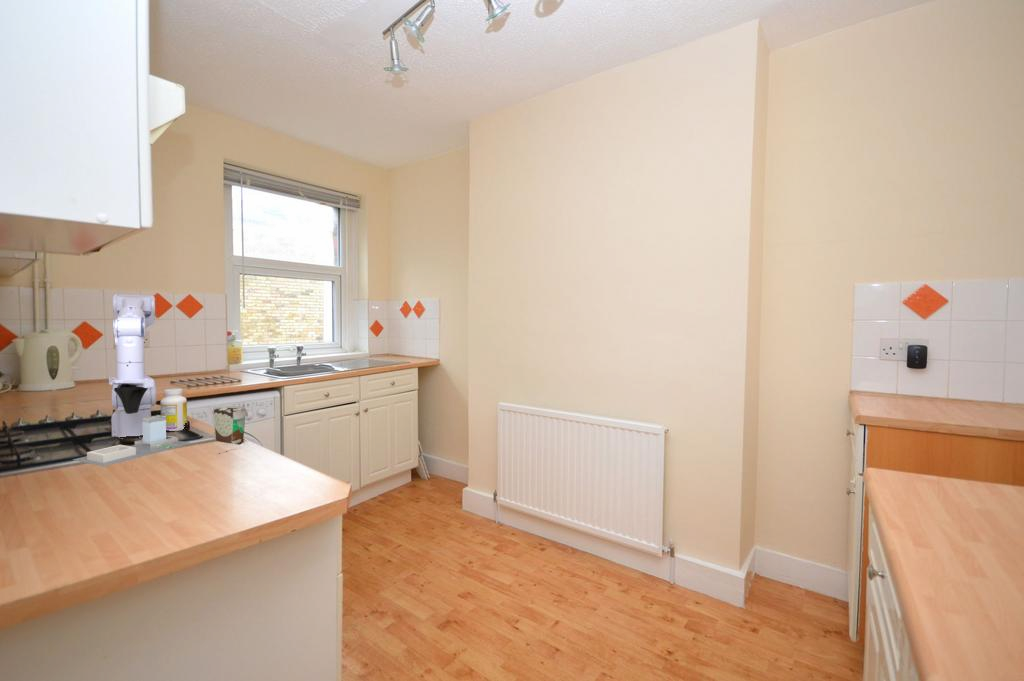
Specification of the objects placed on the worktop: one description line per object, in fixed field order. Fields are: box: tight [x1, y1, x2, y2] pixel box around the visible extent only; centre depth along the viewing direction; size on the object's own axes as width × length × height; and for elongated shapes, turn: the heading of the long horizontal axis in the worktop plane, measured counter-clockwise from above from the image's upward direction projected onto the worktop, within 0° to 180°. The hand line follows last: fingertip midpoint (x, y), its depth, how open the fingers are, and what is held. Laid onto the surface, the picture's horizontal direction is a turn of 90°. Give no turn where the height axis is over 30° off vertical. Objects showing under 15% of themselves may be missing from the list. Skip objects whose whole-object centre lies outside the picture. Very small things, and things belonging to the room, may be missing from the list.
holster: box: [86, 444, 136, 463], centre depth 113 cm, size 6×7×2 cm
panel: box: [72, 440, 193, 467], centre depth 118 cm, size 12×21×1 cm, turn 161°
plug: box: [142, 414, 167, 443], centre depth 122 cm, size 3×4×8 cm
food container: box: [212, 405, 249, 446], centre depth 131 cm, size 12×6×10 cm, turn 58°
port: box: [134, 434, 179, 451], centre depth 122 cm, size 8×7×2 cm
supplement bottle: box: [159, 388, 188, 432], centre depth 142 cm, size 7×7×13 cm
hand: (131, 413), depth 120 cm, fingers closed
